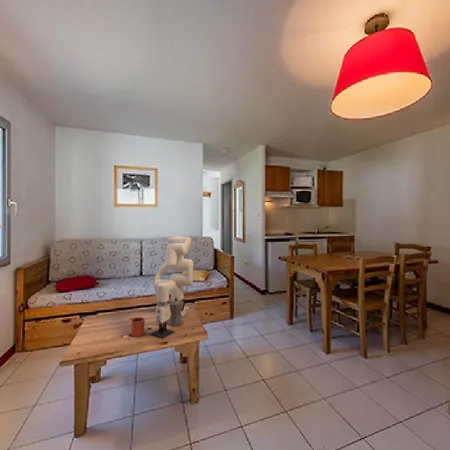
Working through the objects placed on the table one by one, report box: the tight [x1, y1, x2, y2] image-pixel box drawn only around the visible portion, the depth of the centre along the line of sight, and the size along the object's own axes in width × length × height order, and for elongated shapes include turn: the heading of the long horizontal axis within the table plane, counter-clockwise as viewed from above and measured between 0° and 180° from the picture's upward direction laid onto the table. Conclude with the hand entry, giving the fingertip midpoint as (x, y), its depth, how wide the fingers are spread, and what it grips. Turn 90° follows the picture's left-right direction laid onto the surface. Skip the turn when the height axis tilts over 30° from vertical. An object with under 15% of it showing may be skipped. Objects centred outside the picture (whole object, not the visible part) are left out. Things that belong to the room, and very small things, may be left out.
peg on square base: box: [150, 324, 175, 340], centre depth 155 cm, size 10×10×6 cm
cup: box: [130, 316, 145, 338], centre depth 154 cm, size 8×8×9 cm
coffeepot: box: [168, 298, 186, 327], centre depth 171 cm, size 15×9×18 cm, turn 144°
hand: (162, 331), depth 155 cm, fingers closed on peg on square base, 2 cm apart
